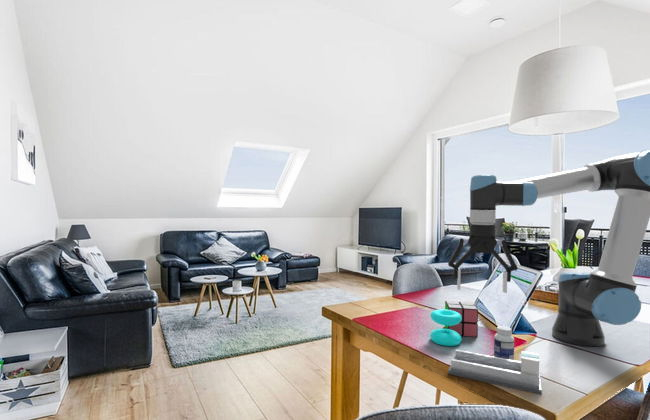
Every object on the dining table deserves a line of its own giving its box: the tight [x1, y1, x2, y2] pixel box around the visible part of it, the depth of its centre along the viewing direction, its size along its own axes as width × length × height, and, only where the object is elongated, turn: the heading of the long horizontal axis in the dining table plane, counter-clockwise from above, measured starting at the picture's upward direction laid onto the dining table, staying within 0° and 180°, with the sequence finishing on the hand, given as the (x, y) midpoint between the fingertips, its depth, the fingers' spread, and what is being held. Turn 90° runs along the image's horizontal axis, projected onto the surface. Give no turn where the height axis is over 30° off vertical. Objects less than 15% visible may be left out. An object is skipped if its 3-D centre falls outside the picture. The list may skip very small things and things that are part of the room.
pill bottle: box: [493, 325, 515, 360], centre depth 110 cm, size 5×5×10 cm
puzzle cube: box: [444, 300, 479, 338], centre depth 134 cm, size 10×10×10 cm
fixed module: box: [520, 350, 540, 376], centre depth 96 cm, size 4×6×6 cm
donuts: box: [429, 308, 462, 347], centre depth 124 cm, size 10×10×10 cm
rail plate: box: [447, 349, 543, 395], centre depth 100 cm, size 22×11×4 cm, turn 62°
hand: (481, 290), depth 117 cm, fingers open, 13 cm apart
